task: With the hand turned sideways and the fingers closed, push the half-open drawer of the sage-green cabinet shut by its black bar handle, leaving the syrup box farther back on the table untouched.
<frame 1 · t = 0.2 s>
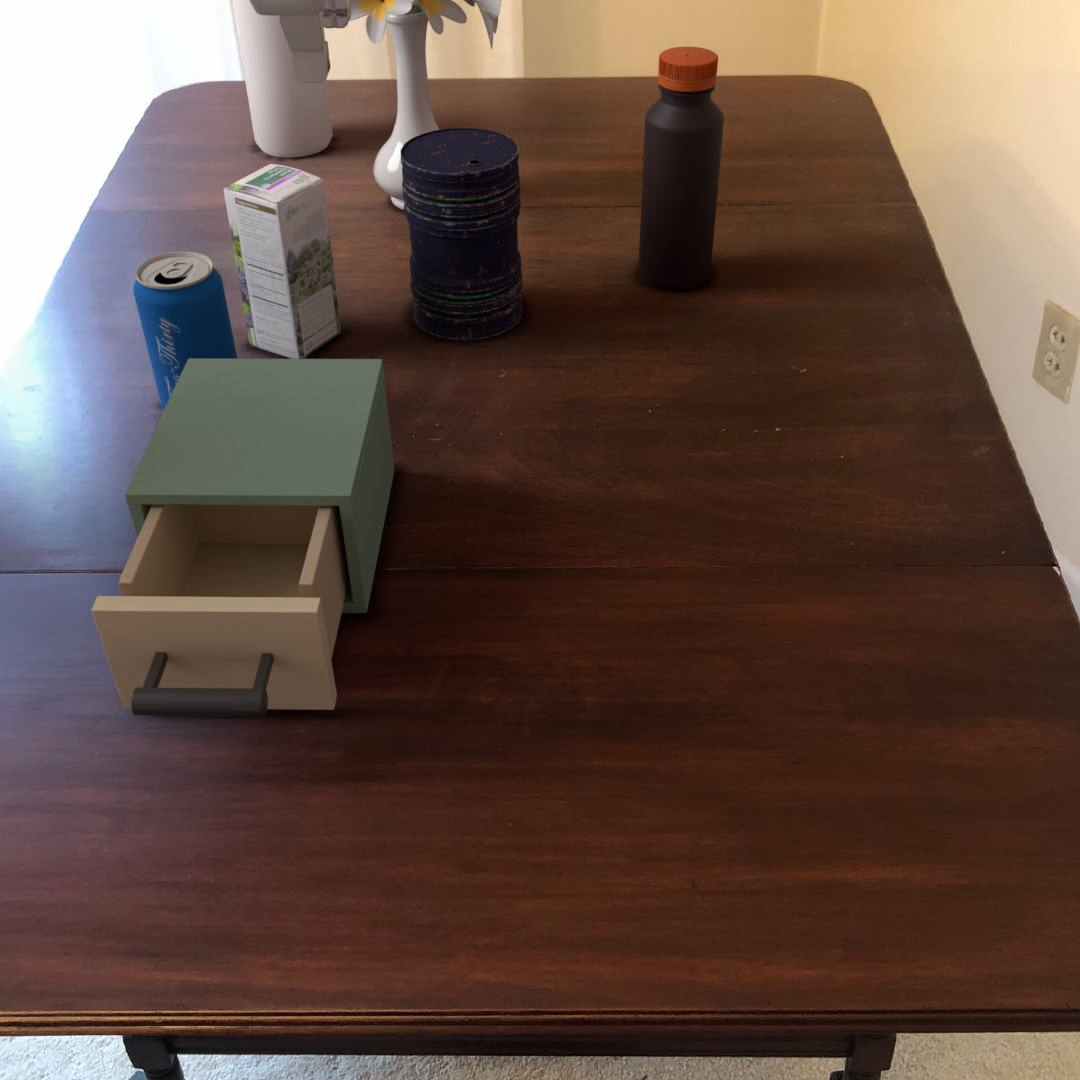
hand: (325, 50, 71), 31 cm above the table, tool pointing down, fingers open, 8 cm apart
bottle: (674, 276, 114), on the table
flower vase: (427, 200, 128), on the table
syrup box: (297, 342, 106), on the table
drawer: (236, 600, 73), point 5 cm above the table, slide at 8.0 cm
cabinet: (284, 536, 85), on the table
beverage can: (204, 407, 98), on the table
dark blue cylinder: (468, 314, 109), on the table
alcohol: (295, 145, 140), on the table
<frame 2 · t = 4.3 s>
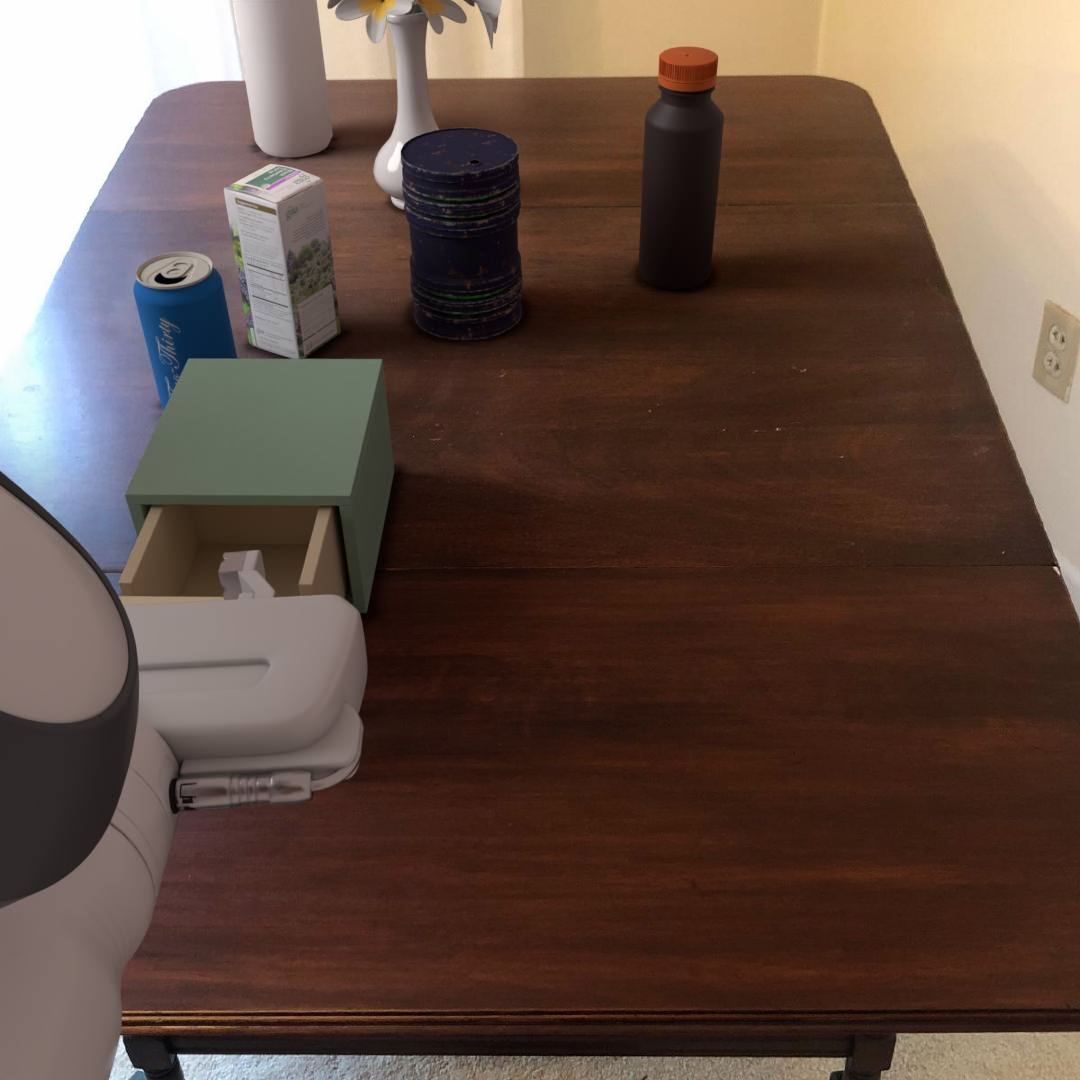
hand: (132, 569, 51), 20 cm above the table, tool horizontal, fingers open, 8 cm apart
nothing on the table moved.
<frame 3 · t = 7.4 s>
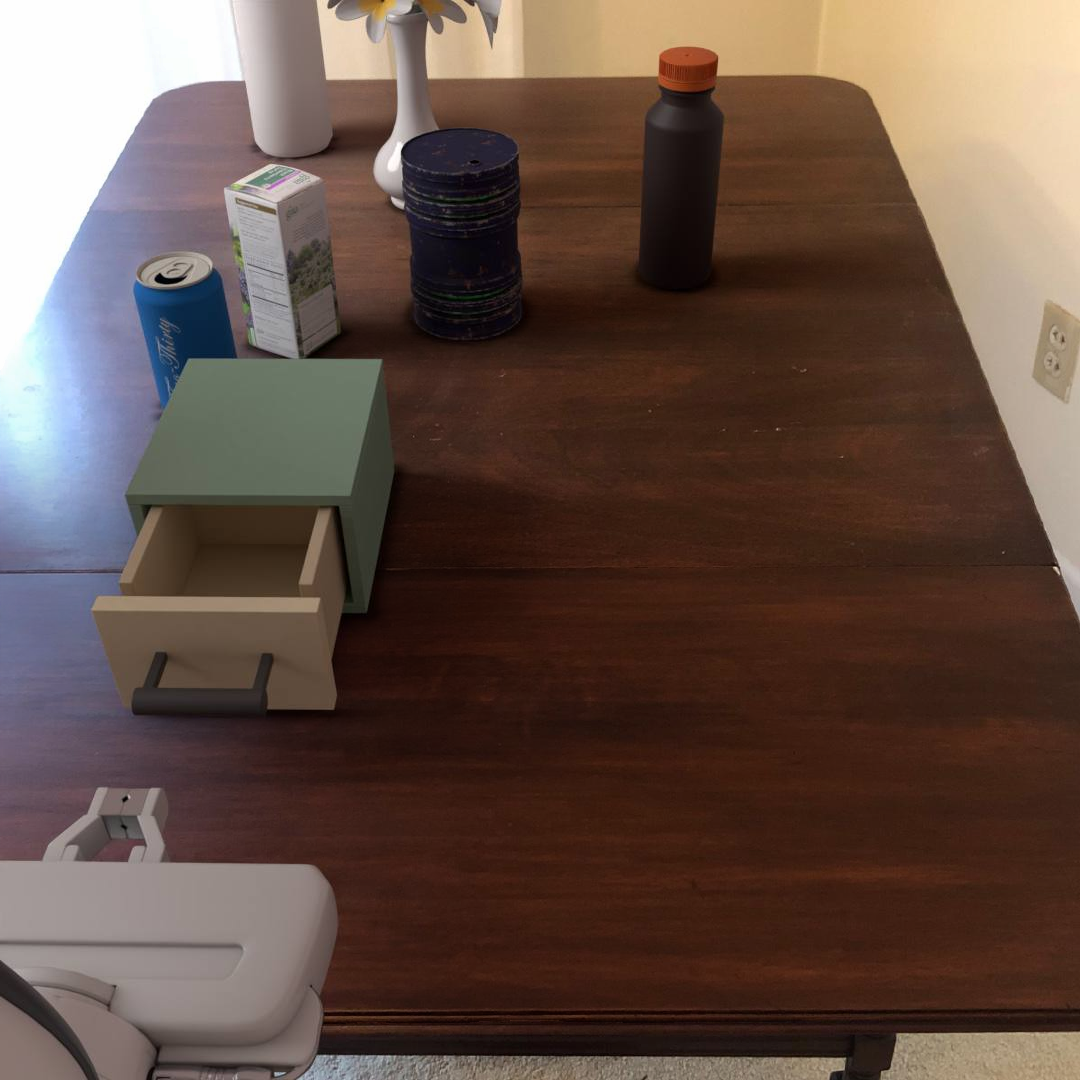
hand: (135, 795, 56), 9 cm above the table, tool horizontal, fingers closed
nothing on the table moved.
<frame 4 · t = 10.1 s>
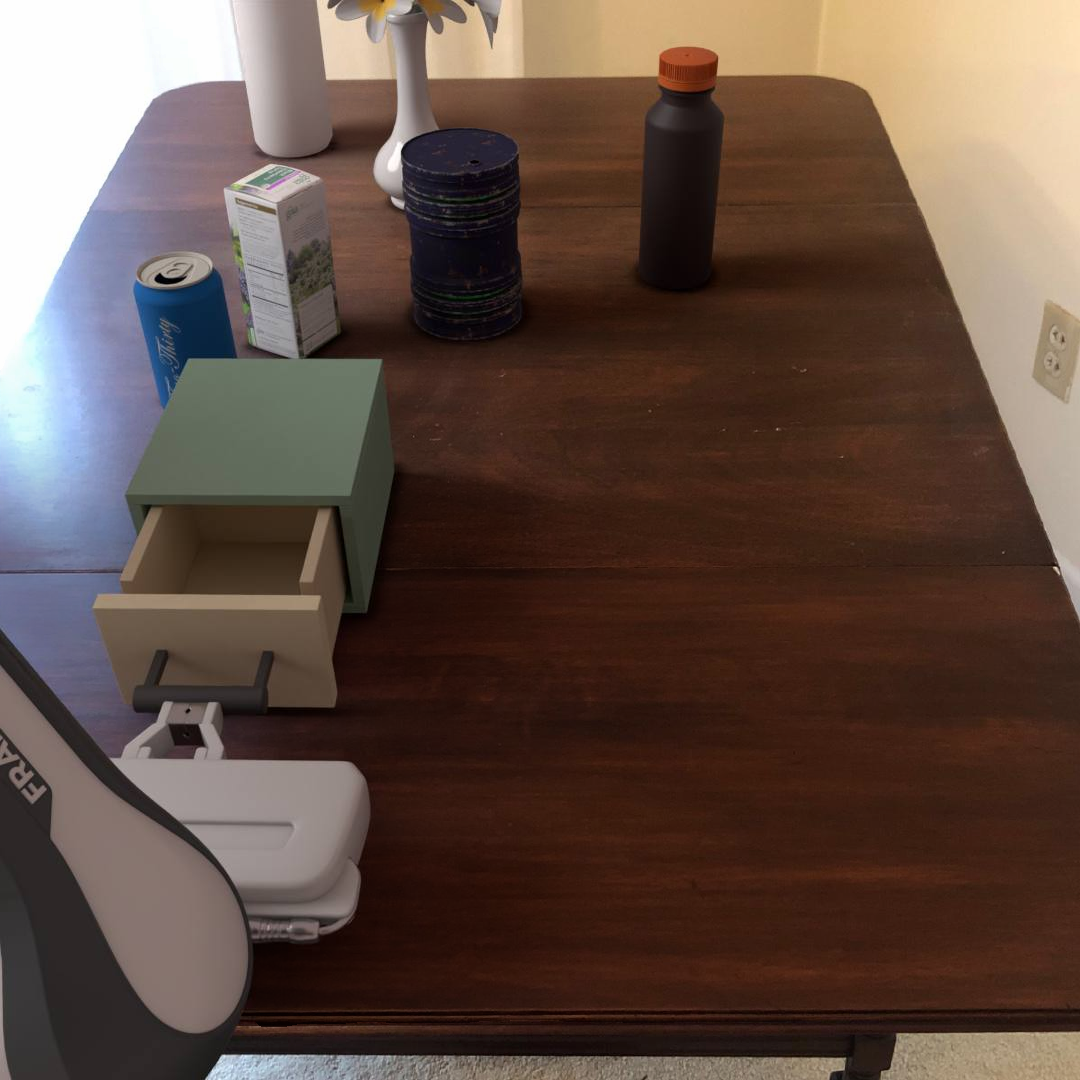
hand: (195, 709, 65), 5 cm above the table, tool horizontal, fingers closed, pressing on drawer
drawer: (236, 598, 73), point 5 cm above the table, slide at 7.8 cm, touching gripper
everything else where it was.
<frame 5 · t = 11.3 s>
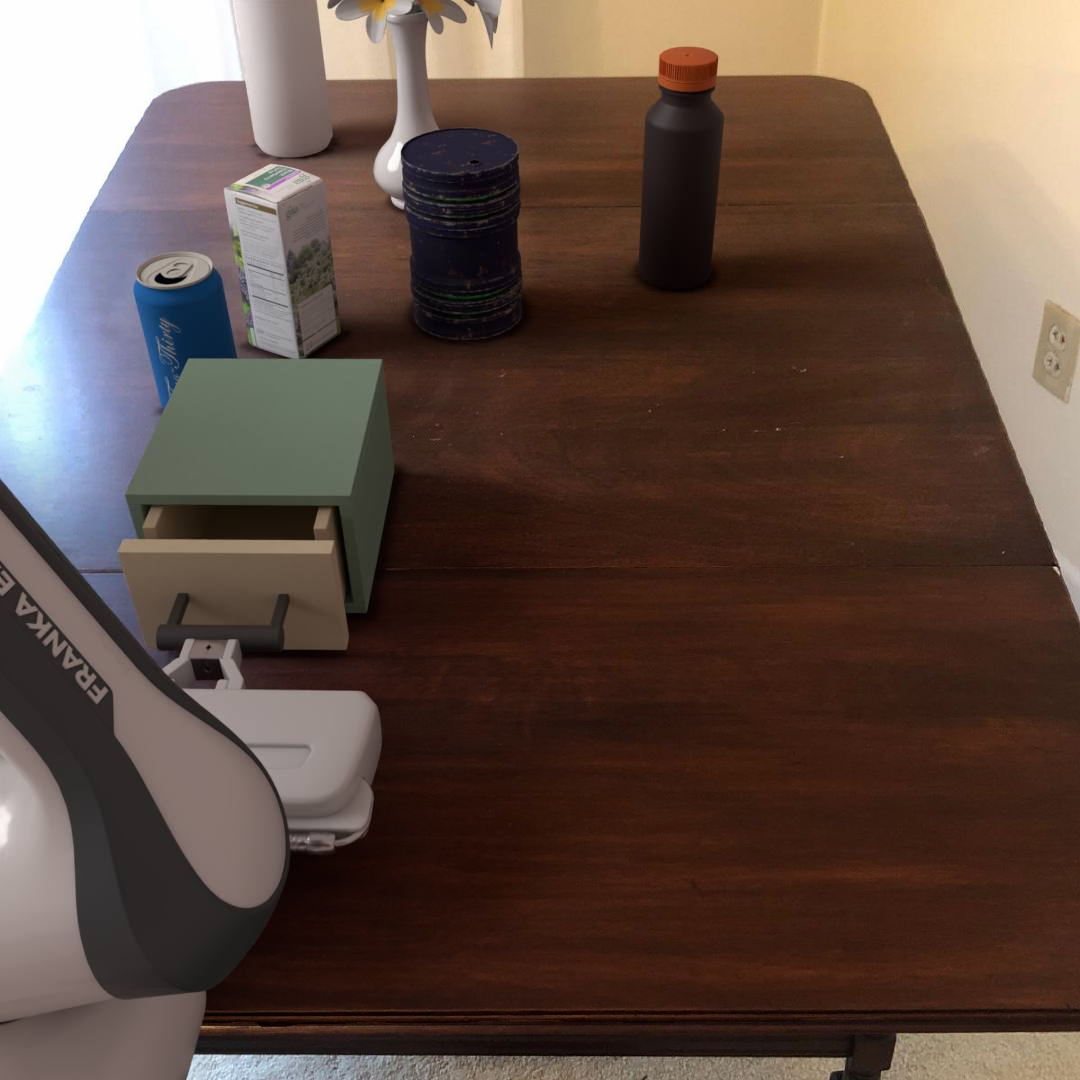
hand: (215, 646, 69), 5 cm above the table, tool horizontal, fingers closed, pressing on drawer
drawer: (252, 547, 77), point 5 cm above the table, slide at 3.1 cm, touching gripper
everything else where it was.
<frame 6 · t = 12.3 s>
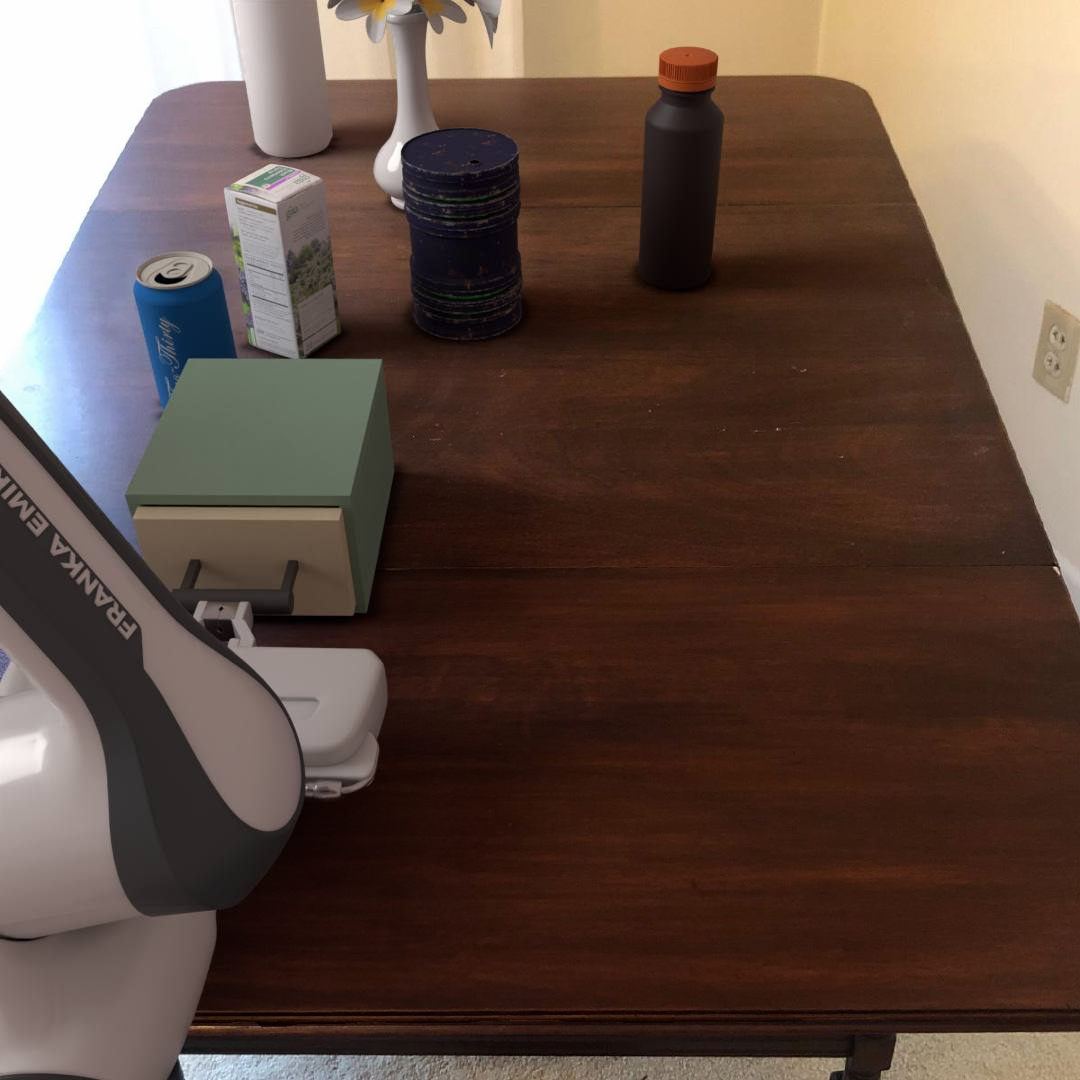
hand: (227, 609, 71), 5 cm above the table, tool horizontal, fingers closed, pressing on drawer
drawer: (262, 517, 79), point 5 cm above the table, slide at 0.0 cm, touching cabinet, gripper
everything else where it was.
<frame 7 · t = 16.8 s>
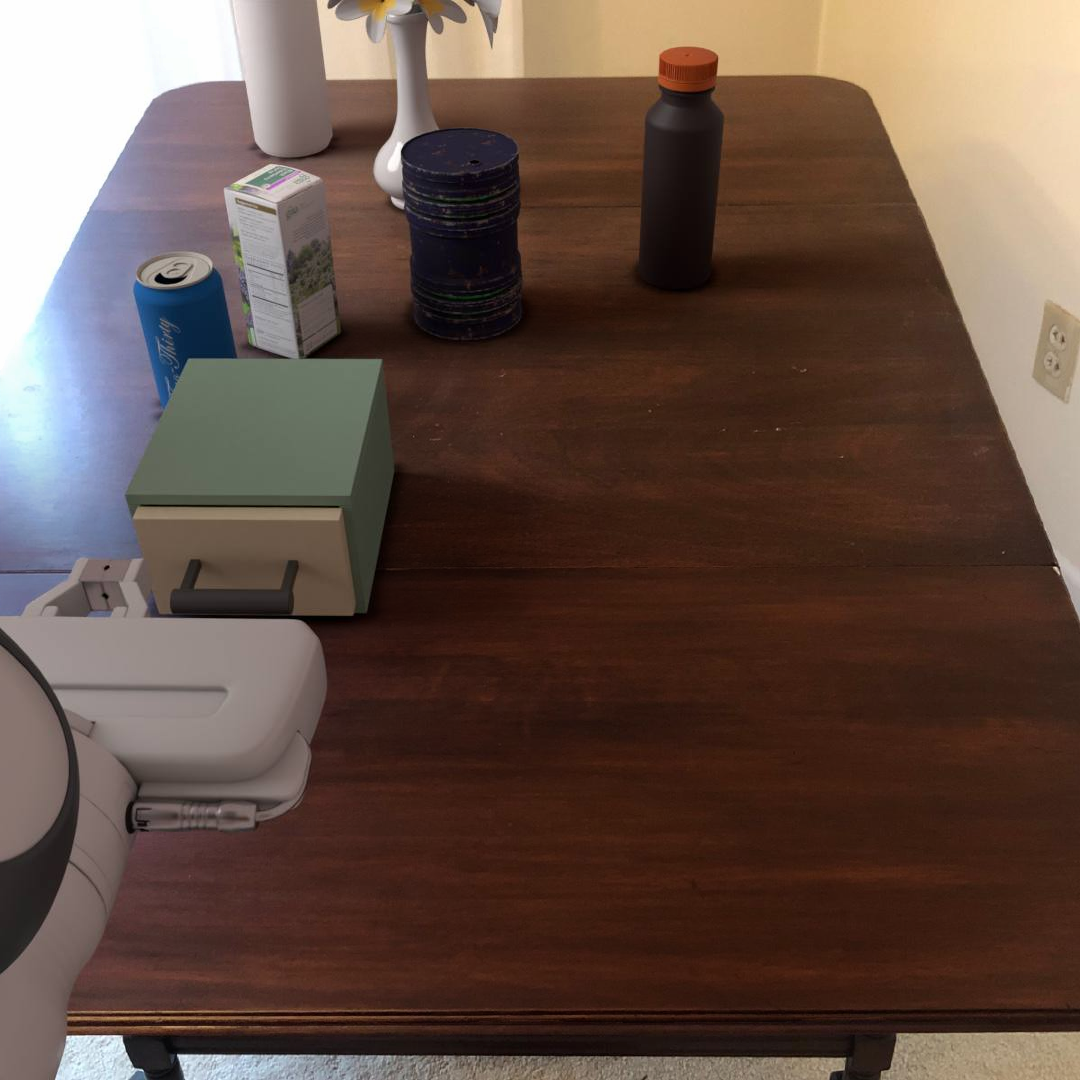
hand: (117, 569, 54), 19 cm above the table, tool horizontal, fingers closed
drawer: (262, 517, 79), point 5 cm above the table, slide at 0.0 cm, touching cabinet
everything else where it was.
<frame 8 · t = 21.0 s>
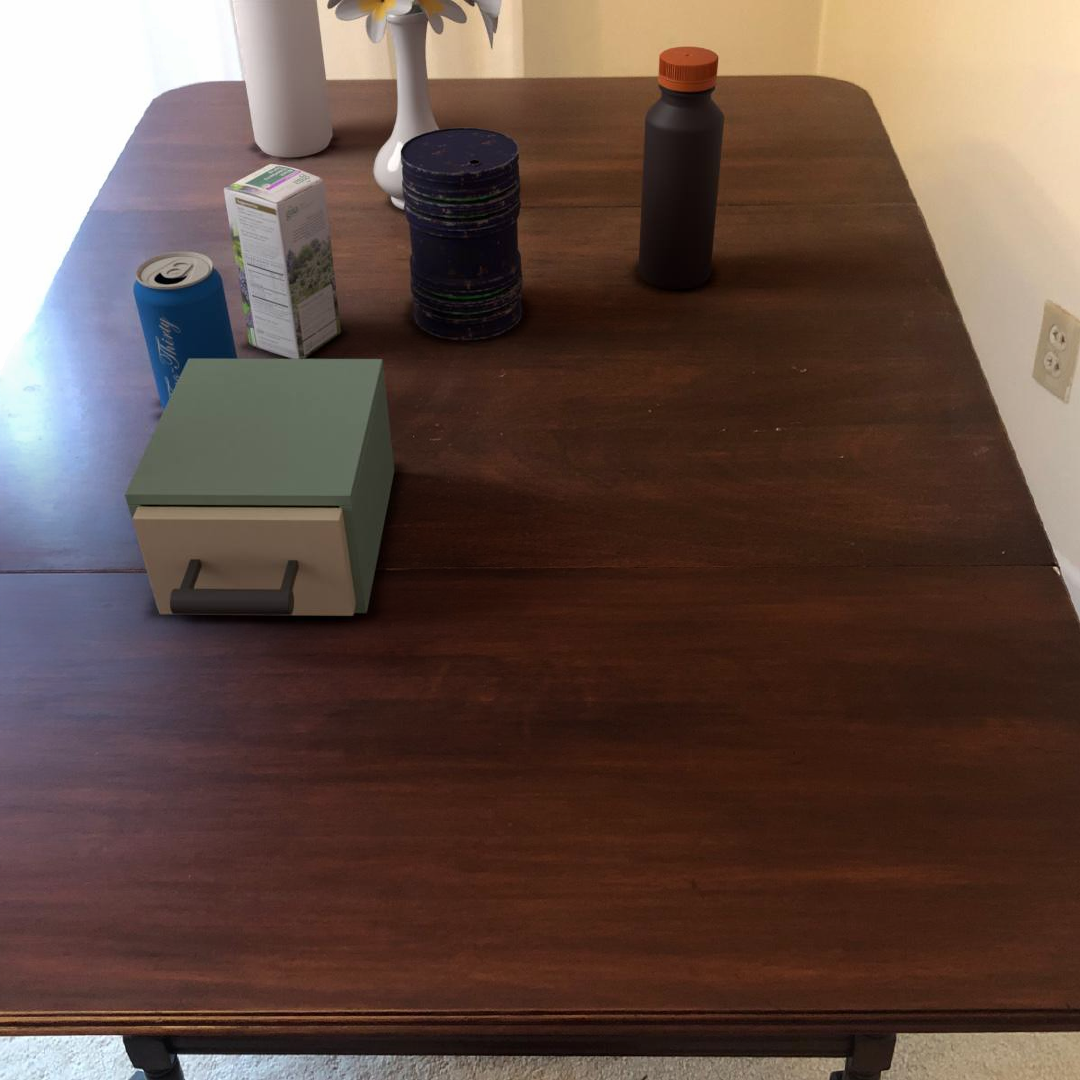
nothing on the table moved.
at the end: drawer slide at 0.0 cm; syrup box moved 0.2 cm from its start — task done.
